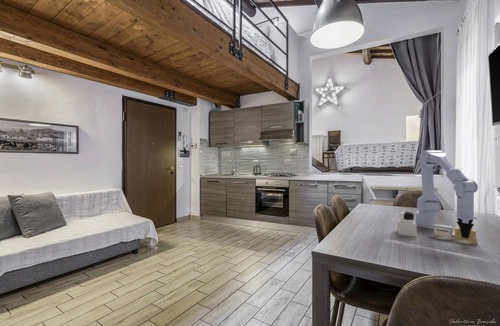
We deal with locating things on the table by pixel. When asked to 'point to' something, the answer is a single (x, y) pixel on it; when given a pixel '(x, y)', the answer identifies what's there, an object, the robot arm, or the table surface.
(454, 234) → the beige divided tray
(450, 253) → the table surface
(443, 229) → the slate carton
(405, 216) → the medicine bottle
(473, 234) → the ochre carton
